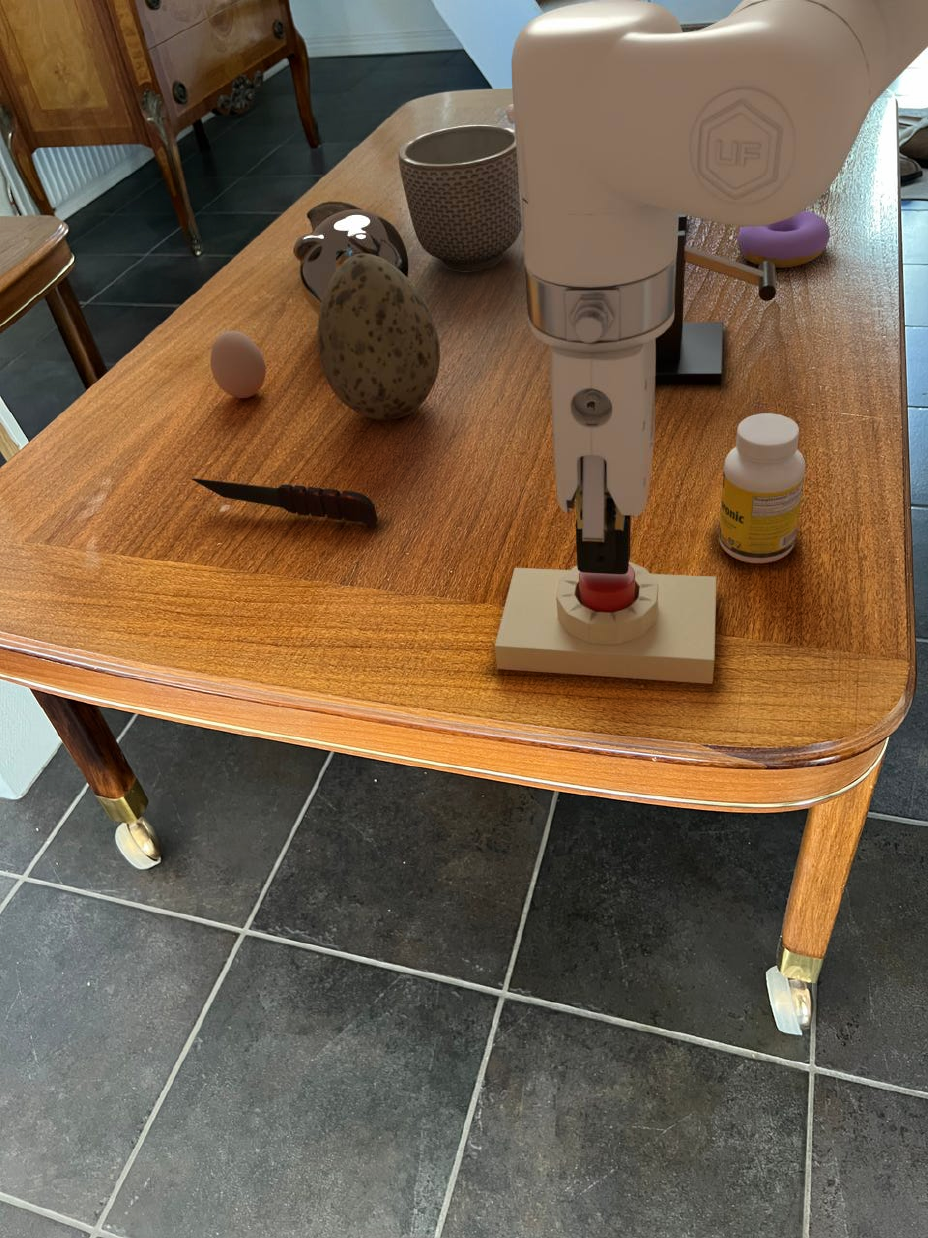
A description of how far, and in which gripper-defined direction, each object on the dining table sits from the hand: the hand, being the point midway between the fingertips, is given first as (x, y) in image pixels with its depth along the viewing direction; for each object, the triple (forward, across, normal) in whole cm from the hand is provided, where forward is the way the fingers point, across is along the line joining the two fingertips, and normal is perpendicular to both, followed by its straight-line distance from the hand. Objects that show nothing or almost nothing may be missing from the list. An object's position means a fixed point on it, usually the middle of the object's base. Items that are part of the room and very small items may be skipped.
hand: (603, 564), depth 61 cm
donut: (+6, +61, -13) cm, 63 cm away
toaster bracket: (+6, +38, -1) cm, 38 cm away
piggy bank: (+7, +46, +31) cm, 56 cm away
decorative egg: (+7, +28, +23) cm, 37 cm away
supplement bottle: (+6, +10, -10) cm, 16 cm away
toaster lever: (-2, +38, -5) cm, 38 cm away
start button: (+2, 0, 0) cm, 3 cm away
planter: (+7, +62, +22) cm, 66 cm away
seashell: (+7, +63, +38) cm, 74 cm away
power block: (+6, 0, 0) cm, 6 cm away
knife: (+7, +12, +28) cm, 31 cm away
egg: (+7, +31, +39) cm, 50 cm away
